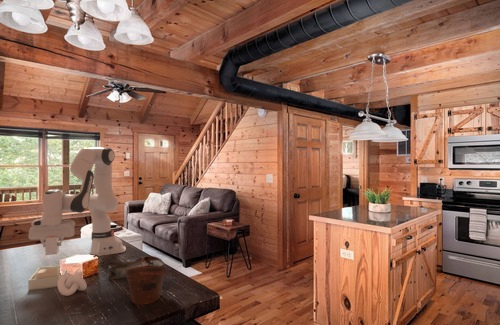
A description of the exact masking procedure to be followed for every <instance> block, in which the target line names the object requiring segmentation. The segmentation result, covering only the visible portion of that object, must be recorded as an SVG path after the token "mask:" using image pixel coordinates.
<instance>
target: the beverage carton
mask: <svg viewBox="0 0 500 325" xmlns="http://www.w3.org/2000/svg"><path fill="white" fill-rule="evenodd" d="M134 261H135V260H134ZM134 261H127V262H121V263H119V262H118V263H114V264H111V263H110V264H109V265H108V280H116V279H125V278H126V277H125V274H126V269H127V267H128V266H129V265H130V264H131V263H133V262H134Z"/></svg>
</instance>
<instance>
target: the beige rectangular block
mask: <svg viewBox="0 0 500 325" xmlns="http://www.w3.org/2000/svg"><path fill="white" fill-rule="evenodd" d="M57 276H60V269H59V268H51V269H42V270H39V271H38V272H37V274H36V279H40V278H49V277H57Z"/></svg>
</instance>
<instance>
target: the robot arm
mask: <svg viewBox="0 0 500 325" xmlns="http://www.w3.org/2000/svg"><path fill="white" fill-rule="evenodd" d="M115 157H116V156H115V151H114V150H113V149H112V148H110V147H100V146H93V147H92V146H91V147H82V148H81V149H80V150H79V151H78V152H77V153H76V155H75V156H74V159H72V160H73V161H72V162H71V165H70V172H71V174H72V175H73V176H74V177H75V178H77V179H78V180H79V179H80V180H82V183H81V185H80V190H79V192H78V193H76V194H73V193H72V194H69V193H64V192H63V191H62V190H61V189H58V188H52V189H48V190H46V191H44V193H43V196H42V203H41V204H42V205H41V206H42V210H43V212H42V215H41V216H42V217H40V218H37V219H34V220H33V221H32V222H31V223H30V224H31V227H30V228H29V231H28V239H29V240H30V241H34V240H40V243H41V244H42V248H45V243H46V237H50V236H57V238H59V242H58V246H59V247H61V246H62V243H63V240H65V238H72V237H73V236H74V235H75V234H76V233H75V232H76V230H75V227H76V222H75V220H73V219H71V218H70V219H63V212H64V213H65V212H66V213H68V212H69V213H78V214H81V213H84V212H85V211H86V210H87V209H88V211H89V214H90V217H91V219H92V220H91V222H92V227H91V228H92V230H91V231H92V232H91V234H90V235H91V245H90V246H91V247H90V250H89V254H90V255H91V256H92V255H94V256H97V257H98V256H99V257H100V256H101V257H102V256H108V255H113V254H121V253H124V252H126V250H127V248H126V246H125V245H123V242H122V241H123V240H122V239H121V238H119V237H117V236H116V235H115V231H114V230H112V228H111V225H112V224H111V218H110V216H109V214H108V212H114V211H115V210H117V208H118V206H119V199H118V198H117V197H116V196H115V193H114V191H113V190H114V189H113V185H112V184H113V166H112V165H113V164H112V163H113V162H114V160H115ZM93 167H94V169H93ZM92 170H93V171H92ZM93 188H95V190H96V193H94V194H91V193H92V189H93Z"/></svg>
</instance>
